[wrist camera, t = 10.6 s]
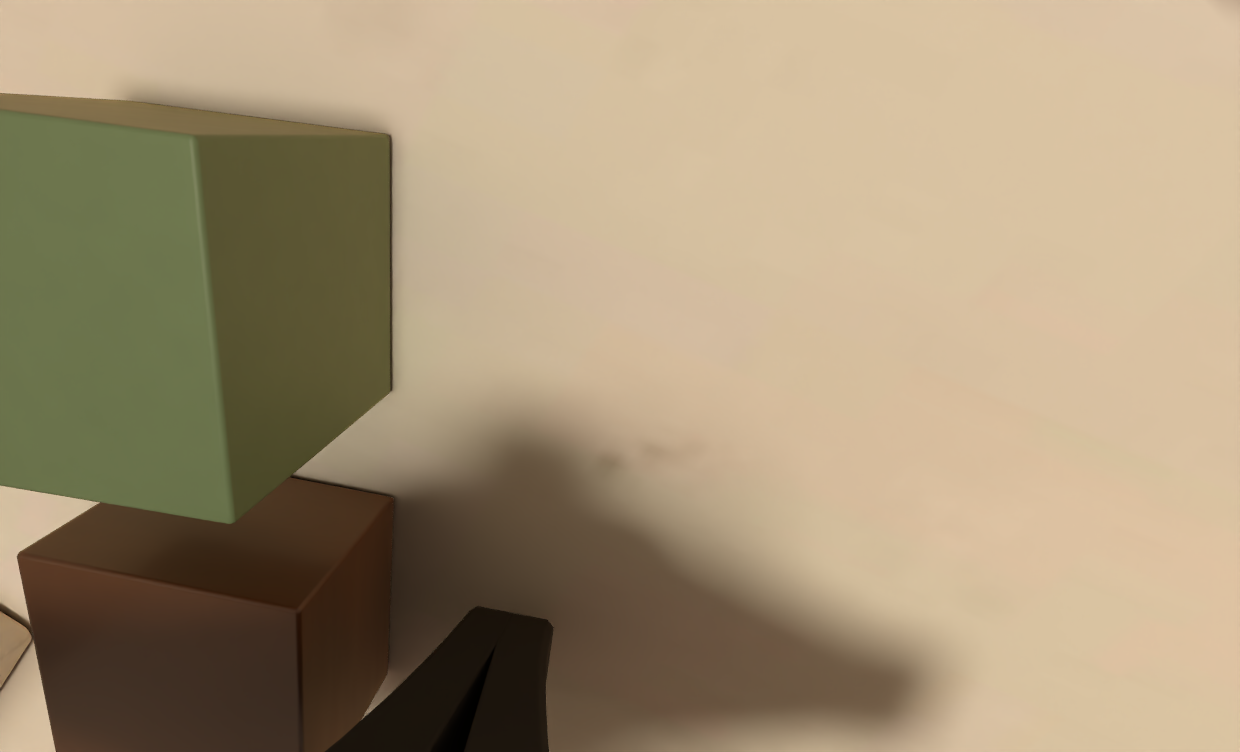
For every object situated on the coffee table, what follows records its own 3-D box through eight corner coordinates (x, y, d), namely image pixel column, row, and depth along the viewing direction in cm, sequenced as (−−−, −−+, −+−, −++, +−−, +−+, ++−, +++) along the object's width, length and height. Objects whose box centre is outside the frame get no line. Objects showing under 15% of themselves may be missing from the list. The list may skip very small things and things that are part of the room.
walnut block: (388, 673, 13) (303, 822, 10) (192, 633, 13) (56, 768, 10) (395, 496, 12) (299, 611, 9) (175, 453, 12) (13, 553, 9)
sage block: (391, 393, 11) (233, 527, 7) (159, 357, 11) (-110, 469, 7) (391, 134, 10) (194, 133, 6) (127, 100, 10) (-225, 79, 6)
